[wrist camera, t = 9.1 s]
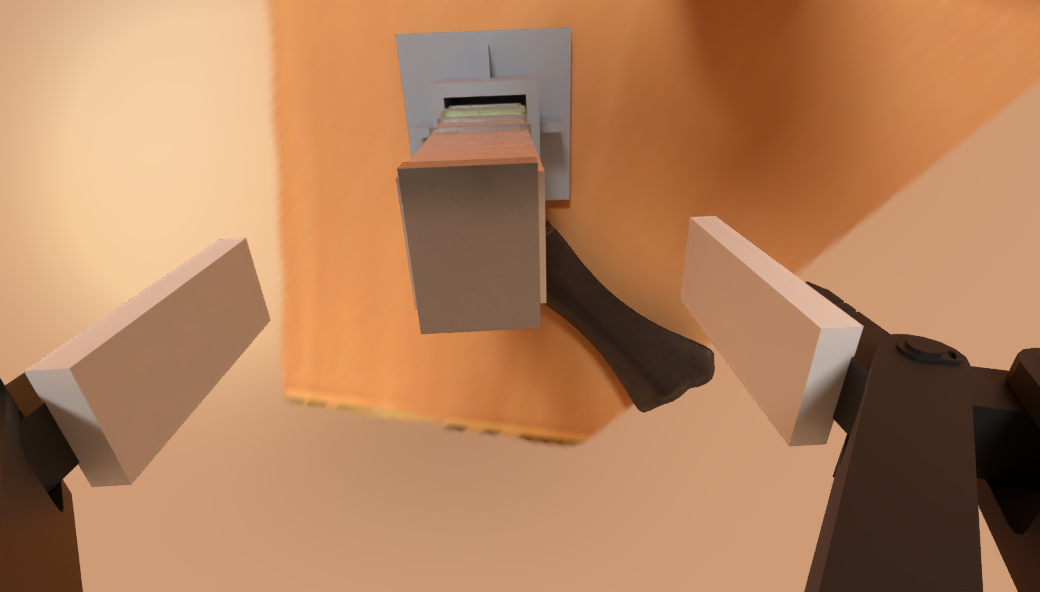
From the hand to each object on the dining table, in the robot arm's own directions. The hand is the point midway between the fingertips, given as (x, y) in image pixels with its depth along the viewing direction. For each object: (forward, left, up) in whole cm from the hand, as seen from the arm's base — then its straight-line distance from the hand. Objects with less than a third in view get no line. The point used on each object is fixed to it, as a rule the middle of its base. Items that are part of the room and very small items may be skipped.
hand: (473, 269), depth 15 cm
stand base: (0, 0, -39) cm, 39 cm away
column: (0, 0, -29) cm, 29 cm away
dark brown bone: (+23, +12, -39) cm, 47 cm away
